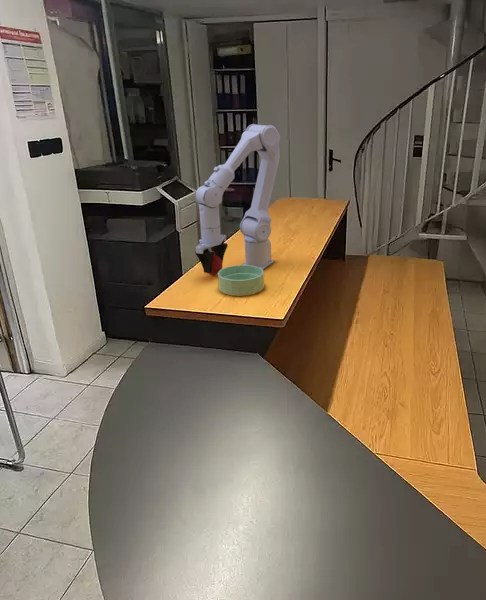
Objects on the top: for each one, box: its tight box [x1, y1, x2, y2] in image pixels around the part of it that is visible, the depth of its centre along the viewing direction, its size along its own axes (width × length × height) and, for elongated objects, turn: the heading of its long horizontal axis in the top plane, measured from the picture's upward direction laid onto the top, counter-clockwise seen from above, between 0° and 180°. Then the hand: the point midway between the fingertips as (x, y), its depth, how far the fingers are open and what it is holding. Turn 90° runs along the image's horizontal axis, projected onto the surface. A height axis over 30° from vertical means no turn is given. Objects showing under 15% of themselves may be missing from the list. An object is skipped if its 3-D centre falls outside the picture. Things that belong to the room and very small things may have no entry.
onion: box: [207, 250, 223, 277], centre depth 150 cm, size 6×6×8 cm
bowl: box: [217, 264, 265, 297], centre depth 141 cm, size 13×13×5 cm
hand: (213, 269), depth 151 cm, fingers closed on onion, 6 cm apart
